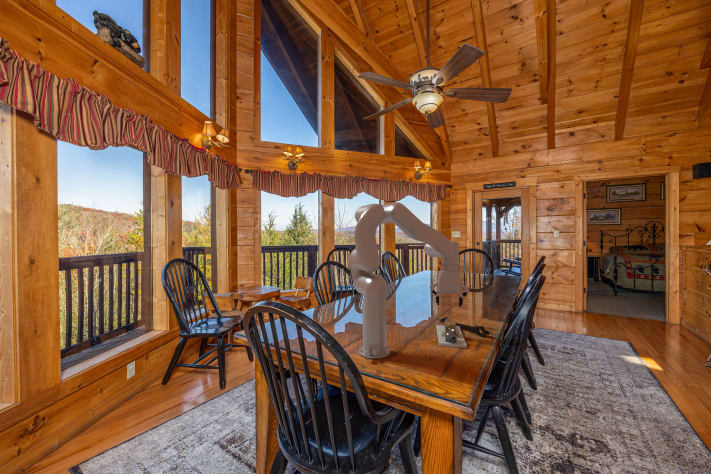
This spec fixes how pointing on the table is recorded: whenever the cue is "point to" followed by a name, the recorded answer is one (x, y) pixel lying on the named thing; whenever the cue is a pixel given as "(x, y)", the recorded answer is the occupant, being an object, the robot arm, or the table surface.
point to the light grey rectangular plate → (442, 342)
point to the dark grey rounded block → (451, 336)
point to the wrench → (471, 328)
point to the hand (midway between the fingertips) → (448, 305)
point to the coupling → (449, 326)
